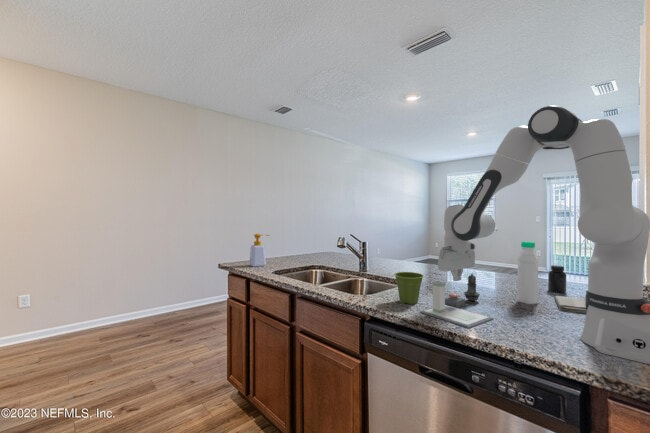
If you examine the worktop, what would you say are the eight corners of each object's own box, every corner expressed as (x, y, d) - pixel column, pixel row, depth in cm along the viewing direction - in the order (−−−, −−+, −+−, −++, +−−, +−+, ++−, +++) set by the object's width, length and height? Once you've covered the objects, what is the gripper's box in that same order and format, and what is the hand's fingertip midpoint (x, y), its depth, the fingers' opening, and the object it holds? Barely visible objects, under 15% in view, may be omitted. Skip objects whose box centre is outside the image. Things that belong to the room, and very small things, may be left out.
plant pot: (388, 301, 128) (388, 274, 127) (405, 296, 135) (405, 270, 135) (412, 308, 118) (412, 278, 118) (429, 302, 126) (429, 275, 126)
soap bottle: (272, 265, 213) (272, 233, 213) (252, 267, 206) (252, 234, 206) (267, 263, 221) (267, 232, 221) (248, 265, 215) (248, 233, 214)
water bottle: (517, 299, 131) (517, 240, 131) (537, 301, 128) (537, 241, 127) (517, 303, 125) (518, 241, 125) (538, 305, 121) (539, 242, 121)
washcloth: (559, 312, 116) (559, 303, 116) (553, 300, 131) (553, 293, 131) (601, 317, 110) (601, 308, 110) (589, 304, 125) (589, 297, 125)
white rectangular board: (493, 319, 106) (493, 317, 106) (469, 328, 97) (469, 325, 97) (444, 305, 121) (444, 303, 121) (419, 312, 113) (419, 310, 113)
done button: (460, 303, 122) (460, 294, 122) (455, 305, 120) (455, 296, 120) (452, 301, 125) (452, 292, 125) (447, 303, 123) (447, 294, 123)
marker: (445, 311, 112) (445, 282, 112) (439, 313, 110) (439, 284, 110) (437, 309, 114) (437, 281, 114) (432, 310, 113) (432, 282, 112)
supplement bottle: (544, 290, 146) (544, 265, 146) (554, 289, 148) (555, 264, 148) (559, 294, 140) (559, 267, 140) (570, 292, 142) (570, 267, 142)
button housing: (465, 305, 122) (465, 299, 122) (456, 308, 118) (456, 301, 118) (451, 301, 127) (451, 295, 127) (442, 304, 123) (442, 298, 123)
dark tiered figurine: (481, 304, 123) (481, 274, 123) (465, 303, 124) (466, 274, 124) (477, 300, 129) (477, 272, 128) (462, 299, 130) (462, 271, 130)
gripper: (448, 247, 114) (448, 285, 113) (477, 244, 125) (478, 278, 125) (433, 246, 119) (434, 282, 118) (463, 243, 130) (463, 276, 130)
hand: (457, 280), depth 122 cm, fingers closed
